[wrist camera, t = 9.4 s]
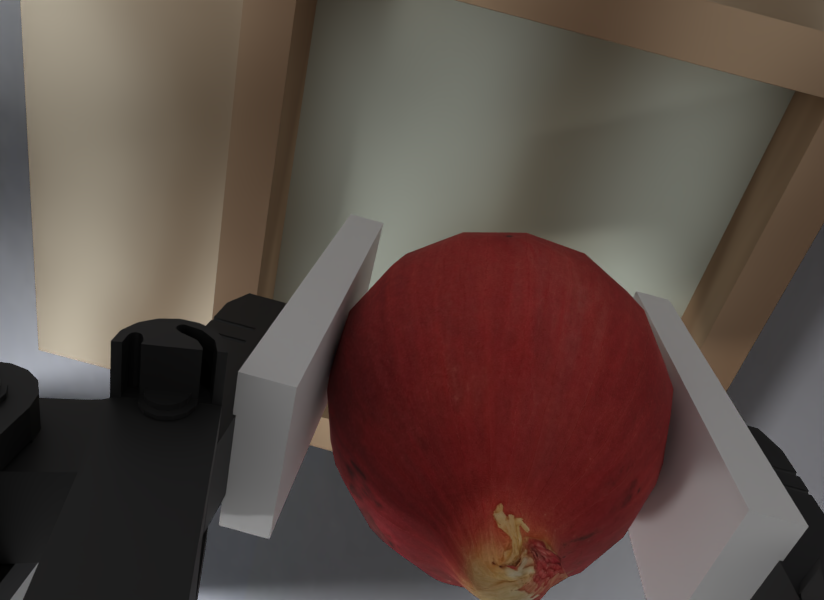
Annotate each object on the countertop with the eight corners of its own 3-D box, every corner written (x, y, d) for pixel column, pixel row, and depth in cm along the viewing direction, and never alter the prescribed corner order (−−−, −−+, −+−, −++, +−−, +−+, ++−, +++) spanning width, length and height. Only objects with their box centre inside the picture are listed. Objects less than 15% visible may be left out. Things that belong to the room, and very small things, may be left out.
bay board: (57, 336, 22) (-4, 381, 19) (37, -204, 15) (-63, -252, 12) (636, 491, 22) (657, 558, 19) (892, 23, 15) (981, 25, 12)
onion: (551, 436, 15) (615, 804, 8) (338, 366, 15) (213, 684, 8) (662, 235, 13) (897, 514, 6) (410, 145, 13) (322, 321, 5)
